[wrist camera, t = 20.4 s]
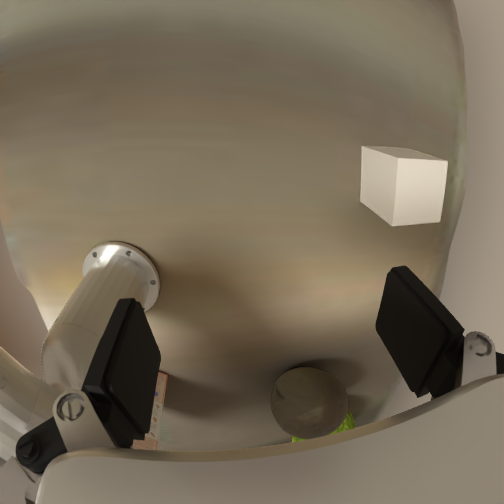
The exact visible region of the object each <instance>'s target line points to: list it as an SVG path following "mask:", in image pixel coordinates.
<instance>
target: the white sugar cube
mask: <svg viewBox="0 0 504 504" xmlns="http://www.w3.org/2000/svg"><path fill="white" fill-rule="evenodd" d="M447 164H448V161H445V160H443V159H440V158H437V157H434V156H431V155H428V154H425V153H422V152H419V151H416V150H412V149H409V148H399V147H378V146H362V161H361V192H360V202H362V203H363V204H364V205H366V206H367V207H368V208H370V209H371V210H372V211H373V212H375V213H376V214H377V215H379V216H380V217H381V218H382V219H384V220H385V221H386V222H387V223H388V224H390V225H391V226H401V225H412V224H423V223H435V222H440V219H441V213H442V207H443V200H444V193H445V184H446V175H447Z"/></svg>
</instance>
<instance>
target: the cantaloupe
mask: <svg viewBox="0 0 504 504" xmlns="http://www.w3.org/2000/svg"><path fill="white" fill-rule="evenodd" d="M348 405H349V400H348V396H347V393H346V390H345V389H344V387H343V386H342V384H341V383H340V382H339V381H338V380H337V379H336V378H335V377H334V376H333V375H331V374H330V373H327V372H325V371H323V370H320V369H316V368H312V367H300V368H295V369H291V370H289V371H287V372H285V373H284V374H282V375H281V376H280V377H279V378H278V379H277V381H276V382H275V384H274V387H273V390H272V394H271V408H272V412H273V415H274V417H275V419H276V421H277V423H278V424H279V425H280V427H281V428H282V429H283V430H284V431H285V432H287V433H288V434H290V435H292V436H294V437H297V438H300V439H307V440H309V439H313V438H318V437H323V436H326V435H328V434H330V433H332V432H334V431H335V430H336V429H337V428H338V427H339V426H340V425H341V424H342V423H343V421H344V420H345V418H346V415H347V412H348Z"/></svg>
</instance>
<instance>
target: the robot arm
mask: <svg viewBox="0 0 504 504" xmlns="http://www.w3.org/2000/svg"><path fill="white" fill-rule="evenodd" d="M159 291H160V279H159V275H158V272H157V270H156V268H155V266H154V265H153V263H152V262H151V260H150V259H149V258H148V257H147V256H146V255H145V254H144V253H142V252H141V251H140V250H138V249H137V248H135V247H133V246H131V245H129V244H126V243H123V242H116V241H114V242H105V243H101V244H99V245H98V246H96V247H94V248H93V249H92V250H91V251H90V253H89V254H88V255H87V257H86V259H85V261H84V264H83V280H82V281H81V282H80V284H79V285H78V287H77V288H76V290H75V291H74V293H73V294H72V296H71V297H70V299H69V300H68V302H67V303H66V305H65V306H64V308H63V310H62V311H61V313H60V314H59V316H58V318H57V319H56V321H55V322H54V324H53V326H52V328H51V329H50V331H49V332H48V334H47V336H46V338H45V340H44V343H43V346H42V353H41V366H42V373H43V378H44V381H43V380H40V379H39V378H37V377H36V376H35V375H34V374H32V373H31V372H30V371H29V370H27V369H26V368H25V367H23V366H22V365H21V364H20V363H19V362H18V361H16V360H15V359H14V358H13V357H12V356H10V354H9V353H7V352H6V351H5V350H4V349H3V348H2V347H1V346H0V504H504V354H501V353H497V352H495V346H494V343H493V341H492V340H491V339H490V338H489V337H488V336H487V335H485V334H483V333H481V332H476V331H474V332H470V333H468V334H467V335H466V337H464V336H463V335H462V334H463V332H464V328H463V327H462V326H461V325H460V323H459V322H458V321H457V320H456V319H455V318H454V316H453V315H452V314H451V313H450V312H449V311H448V310H447V309H446V308H445V306H444V305H443V304H442V303H441V302H440V301H439V300H438V298H437V297H436V296H435V295H434V294H433V293H432V292H431V291H430V290H429V289H428V288H427V287H426V286H425V285H424V284H423V282H422V281H421V280H420V279H419V278H418V277H417V276H416V275H415V274H414V273H413V272H412V271H411V270H410V269H409V268H408V267H407V266H399V267H393V268H392V269H391V270H390V272H388V274H387V277H386V282H385V287H384V291H383V296H382V300H381V304H380V308H379V312H378V316H377V320H376V331H377V333H378V334H379V336H380V338H381V339H382V341H383V343H384V345H385V346H386V348H387V350H388V351H389V353H390V355H391V357H392V358H393V360H394V362H395V363H396V365H397V367H398V369H399V371H400V372H401V374H402V376H403V378H404V379H405V381H406V383H407V385H408V387H409V389H410V390H411V391H412V392H415V394H416V395H417V398H419V397H421V396H423V395H426V394H428V393H429V392H430V393H431V395H432V397H431V401H429V402H426V403H424V404H422V405H419V406H417V407H415V408H412V409H410V410H407V411H405V412H402V413H400V414H397V415H394V416H391V417H389V418H386V419H383V420H380V421H377V422H374V423H370V424H367V425H364V426H361V427H357V428H354V429H350V430H347V431H343V432H339V433H335V434H331V435H327V436H323V437H318V438H313V439H309V440H303V441H298V442H292V443H286V444H280V445H273V446H266V447H257V448H248V449H236V450H220V451H158V450H142V449H133V447H132V445H133V440H143V441H144V440H145V433H149V431H150V425H151V417H152V410H153V404H154V397H155V391H156V384H157V378H158V373H159V367H160V361H161V355H160V351H159V348H158V346H157V344H156V341H155V339H154V336H153V334H152V331H151V329H150V326H149V324H148V321H147V318H146V316H145V313H144V312H145V311H147V310H149V309H150V308H151V307H152V306H153V305H154V304H155V302H156V300H157V298H158V295H159Z"/></svg>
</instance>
